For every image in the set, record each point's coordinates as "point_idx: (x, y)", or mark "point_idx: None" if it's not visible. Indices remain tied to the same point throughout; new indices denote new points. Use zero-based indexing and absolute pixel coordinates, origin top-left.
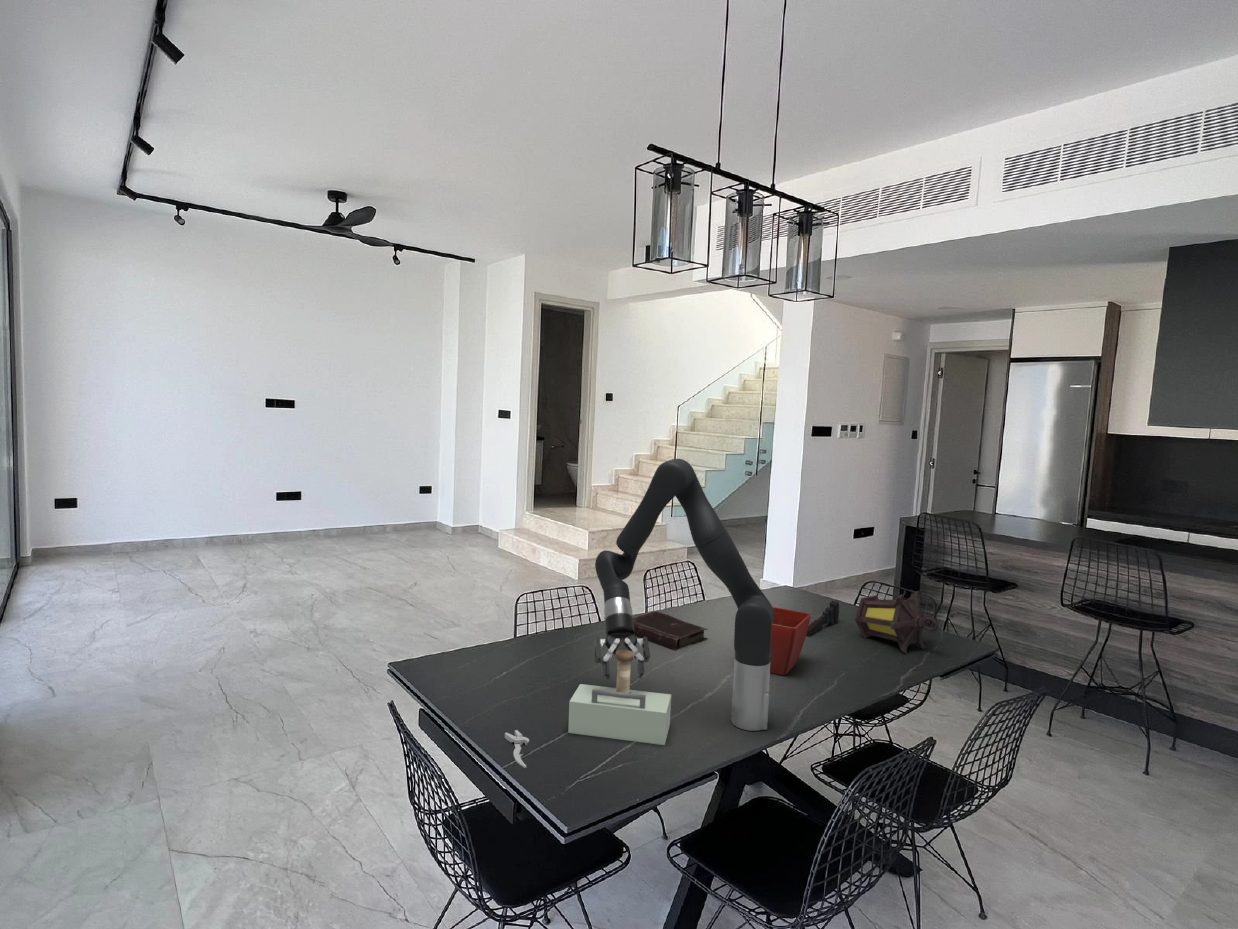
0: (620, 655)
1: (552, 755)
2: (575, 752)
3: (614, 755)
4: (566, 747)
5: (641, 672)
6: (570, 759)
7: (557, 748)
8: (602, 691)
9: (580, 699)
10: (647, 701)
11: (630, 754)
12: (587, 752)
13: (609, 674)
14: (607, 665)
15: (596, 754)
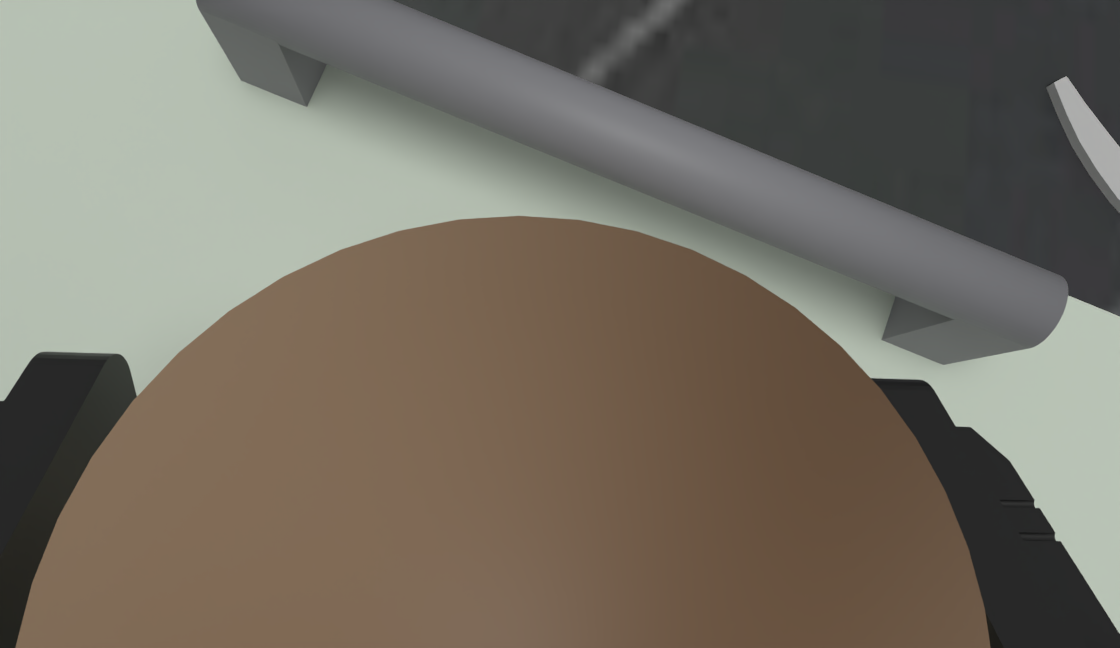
0: (798, 318)
1: (1098, 110)
2: (925, 130)
3: (623, 39)
4: (991, 218)
5: (39, 383)
6: (968, 33)
7: (1061, 211)
8: (907, 216)
9: (1101, 414)
10: (155, 242)
11: (488, 34)
12: (832, 116)
13: (877, 378)
14: (1008, 568)
15: (764, 75)
